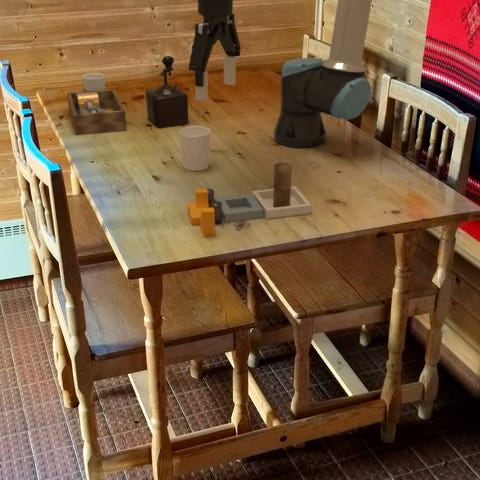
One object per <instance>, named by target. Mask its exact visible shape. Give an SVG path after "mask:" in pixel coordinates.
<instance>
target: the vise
mask: <svg viewBox="0 0 480 480" xmlns="http://www.w3.org/2000/svg"><path fill="white" fill-rule="evenodd" d="M76 102H77V110H76V113H77V114H87V113H98V112H105V111H104V109H102V108H100V104H99V98H98V94H97V92H87V93H77V94H76ZM110 111H111V110H108V111H107V112H110Z"/></svg>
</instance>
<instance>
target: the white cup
mask: <svg viewBox="0 0 480 480" xmlns="http://www.w3.org/2000/svg"><path fill="white" fill-rule="evenodd" d="M179 137H180V139H179V140H180V149H181V150H180V151H181V157H182V167H183V168H184V170H187V171H190V172H201V171H205V170H207V169H208V168H209V160H210V150H211V149H210V148H211V147H210V145H211V144H210V143H211V130H210V128H208V127H206V126H202V125H190V126H185V127H182V128H181V129H179Z"/></svg>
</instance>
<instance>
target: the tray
mask: <svg viewBox="0 0 480 480" xmlns="http://www.w3.org/2000/svg"><path fill="white" fill-rule="evenodd" d="M273 191H274V188H269V189H260V190H258V189H257V190H252V191H251V194H252V195H253V196H254V198H255V199H256V201H257V202H258V203H259V205H260V206H261V207H262V209H263V218H265V219H266V220H271V219H280V218H288V217H295V216H302V215H309V214H312V210H313V209H312V208H313V207H312V206H313V204H311V202H310V201H309V200H308V199H307V197H305V195H304V194H303V193H302V192H301V191H300V190H299V189H298V188H297V186H296V185H294V186H292V185H291V194H290V206H285V207H277V208H275V207H274V206H273Z"/></svg>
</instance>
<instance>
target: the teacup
mask: <svg viewBox="0 0 480 480" xmlns="http://www.w3.org/2000/svg"><path fill="white" fill-rule="evenodd" d="M82 83H83V87H84V89H85V91H96V90H105V88H106V74H104V73H103V72H102V73H101V72H88V73H85V74H83V75H82Z"/></svg>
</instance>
